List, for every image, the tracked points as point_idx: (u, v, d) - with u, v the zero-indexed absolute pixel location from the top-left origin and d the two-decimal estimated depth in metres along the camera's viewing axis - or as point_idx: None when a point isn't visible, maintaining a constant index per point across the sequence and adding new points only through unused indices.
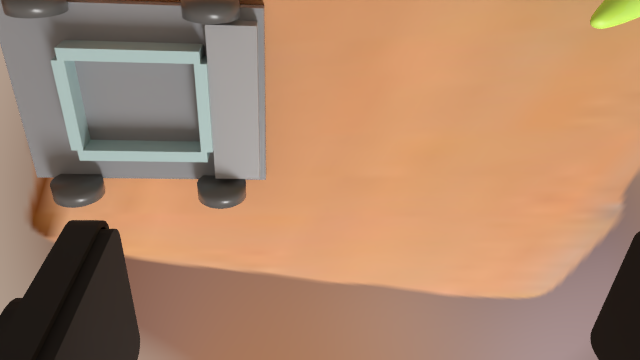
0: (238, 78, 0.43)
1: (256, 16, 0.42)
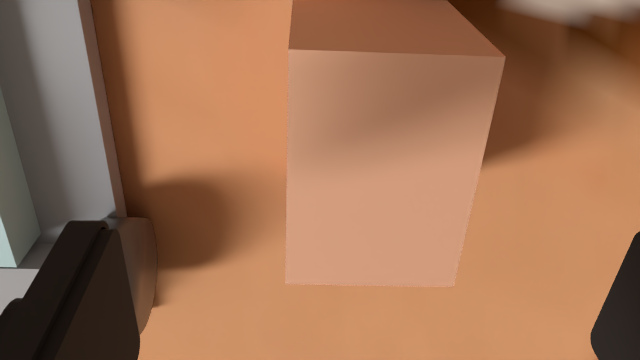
0: None
1: None
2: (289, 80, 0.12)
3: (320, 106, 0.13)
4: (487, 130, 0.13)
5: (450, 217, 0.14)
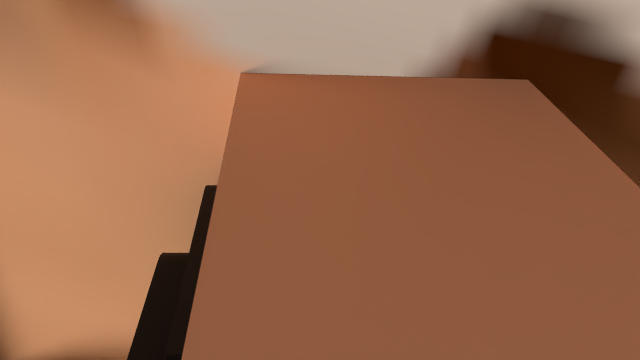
0: None
1: None
2: None
3: None
4: None
5: None
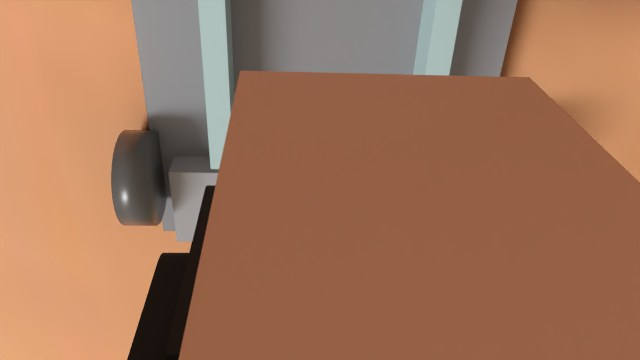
0: None
1: None
2: None
3: None
4: None
5: None
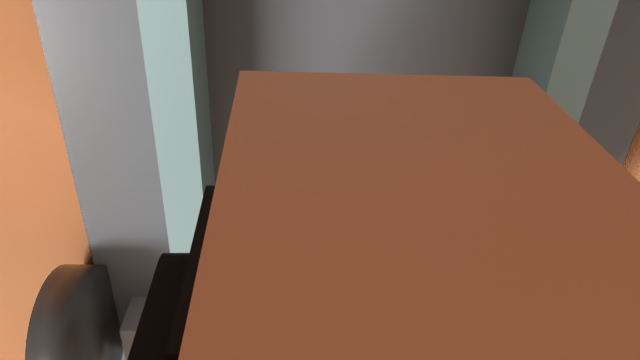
0: None
1: None
2: None
3: None
4: None
5: None
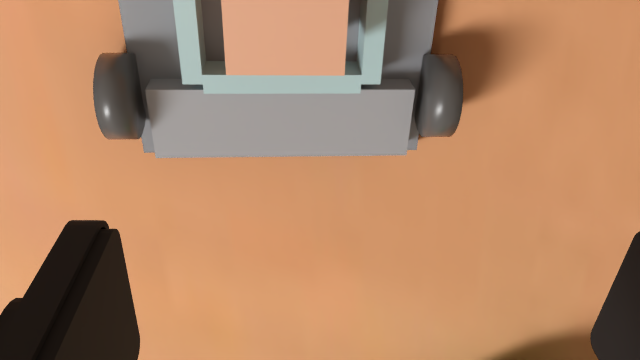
0: (332, 131, 0.29)
1: None
2: None
3: None
4: None
5: (334, 16, 0.21)
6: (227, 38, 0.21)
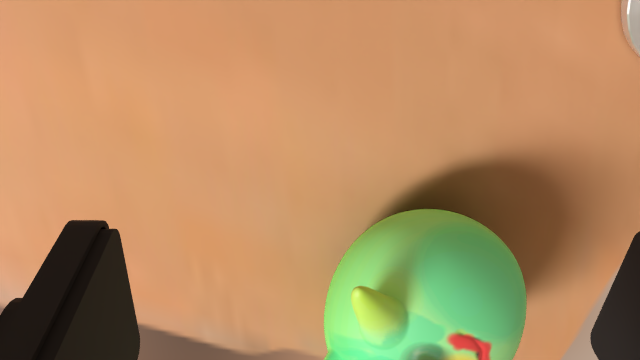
0: None
1: None
2: None
3: None
4: None
5: None
6: None
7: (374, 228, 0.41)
